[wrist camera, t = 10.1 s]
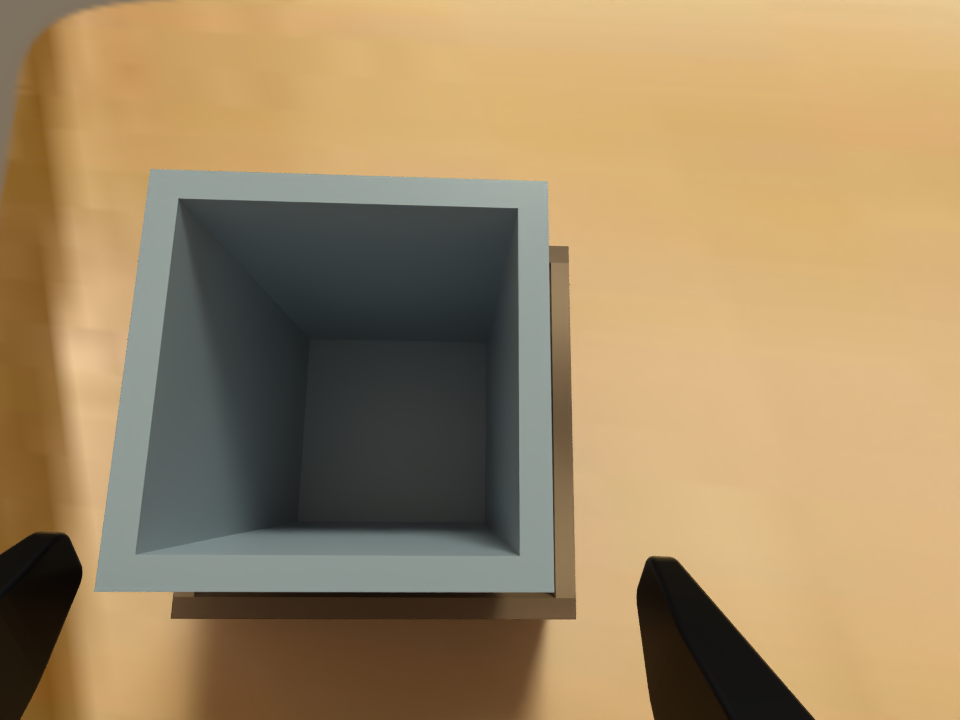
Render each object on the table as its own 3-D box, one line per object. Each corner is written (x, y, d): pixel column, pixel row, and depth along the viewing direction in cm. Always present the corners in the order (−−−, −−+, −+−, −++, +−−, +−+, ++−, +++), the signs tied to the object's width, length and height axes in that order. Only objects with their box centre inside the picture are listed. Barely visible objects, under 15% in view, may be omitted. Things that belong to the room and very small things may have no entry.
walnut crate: (550, 592, 19) (575, 619, 15) (229, 591, 19) (170, 618, 15) (546, 291, 21) (568, 246, 17) (257, 284, 21) (212, 236, 17)
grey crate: (500, 538, 19) (554, 592, 9) (284, 537, 18) (93, 592, 9) (500, 332, 20) (547, 181, 10) (299, 328, 20) (150, 169, 10)
